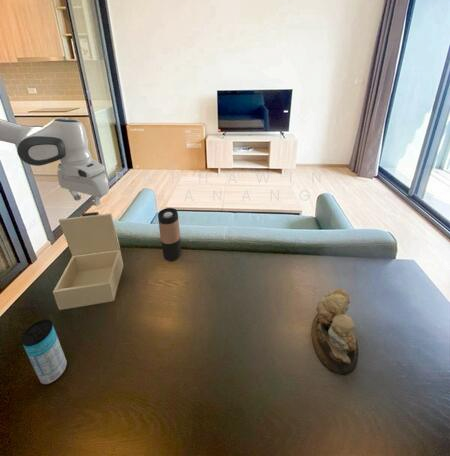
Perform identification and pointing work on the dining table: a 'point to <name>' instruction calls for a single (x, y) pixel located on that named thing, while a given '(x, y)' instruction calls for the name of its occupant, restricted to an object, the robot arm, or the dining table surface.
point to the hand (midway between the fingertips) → (87, 202)
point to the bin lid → (90, 233)
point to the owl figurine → (335, 333)
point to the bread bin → (89, 280)
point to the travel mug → (170, 233)
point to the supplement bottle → (44, 351)
